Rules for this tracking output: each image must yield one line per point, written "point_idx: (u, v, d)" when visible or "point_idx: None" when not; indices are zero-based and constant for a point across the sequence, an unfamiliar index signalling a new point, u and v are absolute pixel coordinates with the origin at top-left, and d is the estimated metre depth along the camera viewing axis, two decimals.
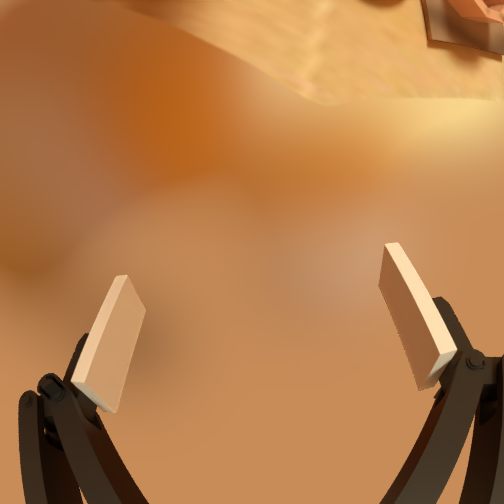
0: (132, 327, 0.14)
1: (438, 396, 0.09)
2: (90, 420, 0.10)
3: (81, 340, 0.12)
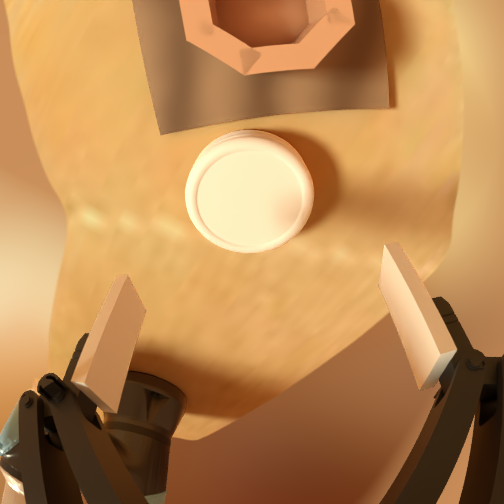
0: (132, 327, 0.14)
1: (438, 396, 0.09)
2: (90, 420, 0.10)
3: (81, 340, 0.12)
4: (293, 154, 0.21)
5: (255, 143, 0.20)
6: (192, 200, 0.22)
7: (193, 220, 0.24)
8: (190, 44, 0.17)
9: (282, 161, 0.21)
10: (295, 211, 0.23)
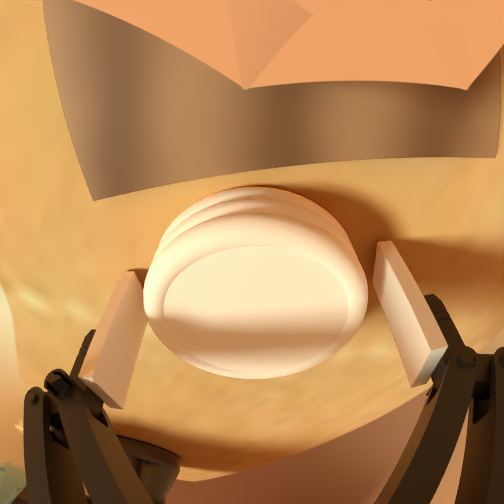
0: (138, 323, 0.14)
1: (430, 394, 0.09)
2: (97, 417, 0.10)
3: (88, 336, 0.12)
4: (343, 250, 0.11)
5: (269, 233, 0.10)
6: (156, 319, 0.12)
7: (162, 342, 0.14)
8: None
9: (321, 264, 0.11)
10: (332, 333, 0.13)
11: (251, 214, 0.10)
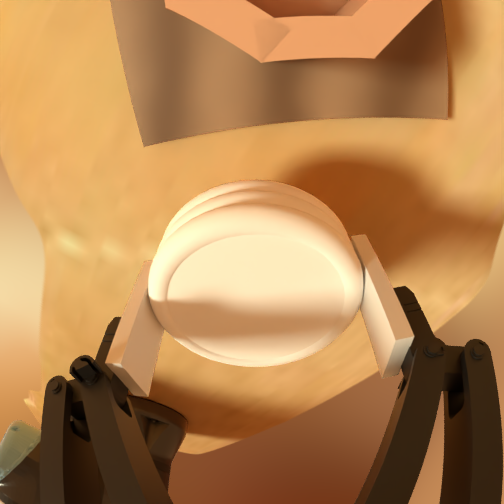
0: None
1: (401, 387, 0.10)
2: (122, 404, 0.10)
3: (111, 324, 0.13)
4: (338, 239, 0.11)
5: (268, 222, 0.11)
6: (160, 307, 0.13)
7: (166, 330, 0.14)
8: (182, 21, 0.11)
9: (318, 252, 0.11)
10: (330, 320, 0.14)
11: (251, 204, 0.11)
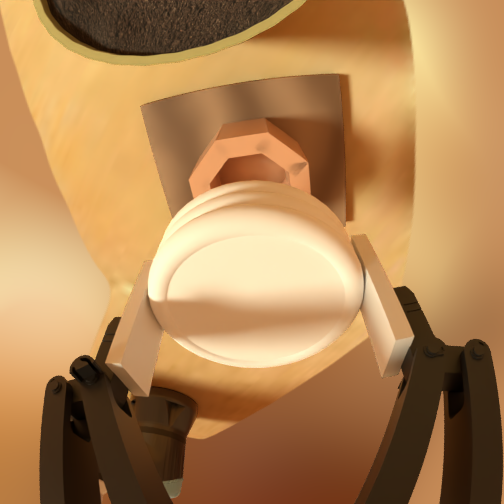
0: None
1: (401, 387, 0.10)
2: (122, 404, 0.10)
3: (111, 324, 0.13)
4: (338, 240, 0.11)
5: (269, 223, 0.11)
6: (160, 308, 0.13)
7: (166, 331, 0.14)
8: None
9: (318, 253, 0.11)
10: (330, 321, 0.14)
11: (251, 205, 0.11)
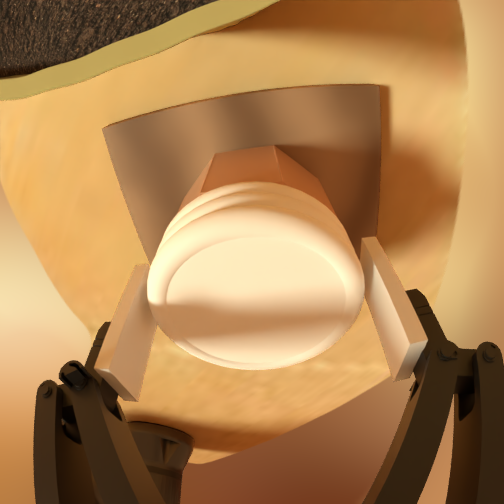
0: (152, 316, 0.15)
1: (413, 389, 0.09)
2: (111, 409, 0.10)
3: (102, 328, 0.13)
4: (339, 241, 0.11)
5: (269, 224, 0.10)
6: (159, 310, 0.13)
7: (165, 333, 0.14)
8: None
9: (318, 255, 0.11)
10: (330, 323, 0.14)
11: (251, 206, 0.11)
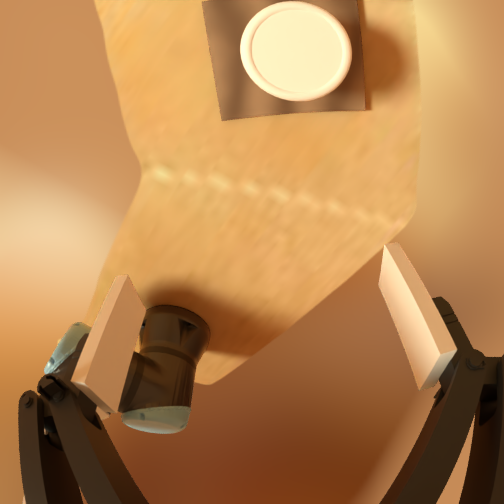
0: (132, 327, 0.14)
1: (438, 396, 0.09)
2: (90, 420, 0.10)
3: (81, 340, 0.12)
4: (334, 17, 0.19)
5: (304, 4, 0.19)
6: (247, 45, 0.21)
7: (246, 64, 0.22)
8: None
9: (326, 20, 0.19)
10: (337, 63, 0.22)
11: (296, 1, 0.19)
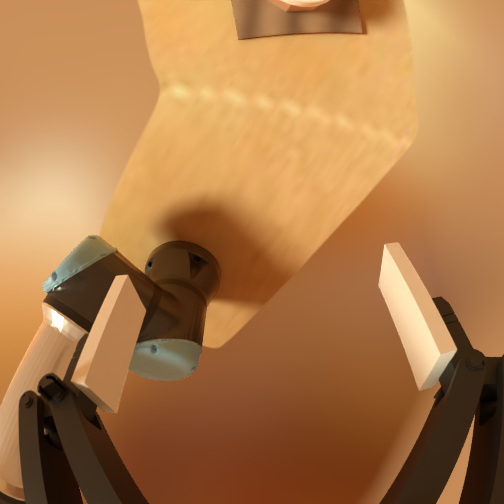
0: (132, 327, 0.14)
1: (438, 396, 0.09)
2: (90, 421, 0.10)
3: (81, 340, 0.12)
4: None
5: None
6: None
7: None
8: None
9: None
10: None
11: None
